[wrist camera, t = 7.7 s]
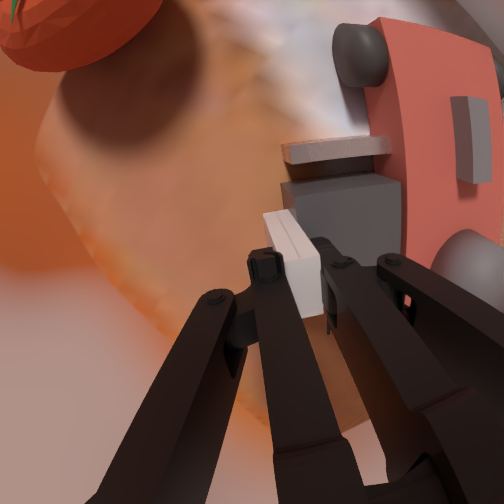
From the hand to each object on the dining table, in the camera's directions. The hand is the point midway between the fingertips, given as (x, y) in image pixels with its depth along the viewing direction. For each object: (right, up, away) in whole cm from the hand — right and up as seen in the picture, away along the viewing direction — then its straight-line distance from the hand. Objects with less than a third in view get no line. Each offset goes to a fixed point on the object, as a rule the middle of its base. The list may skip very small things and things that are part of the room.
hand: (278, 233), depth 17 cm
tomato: (-11, +14, -5) cm, 19 cm away
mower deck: (+12, +3, +1) cm, 12 cm away
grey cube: (+4, +1, +1) cm, 4 cm away
